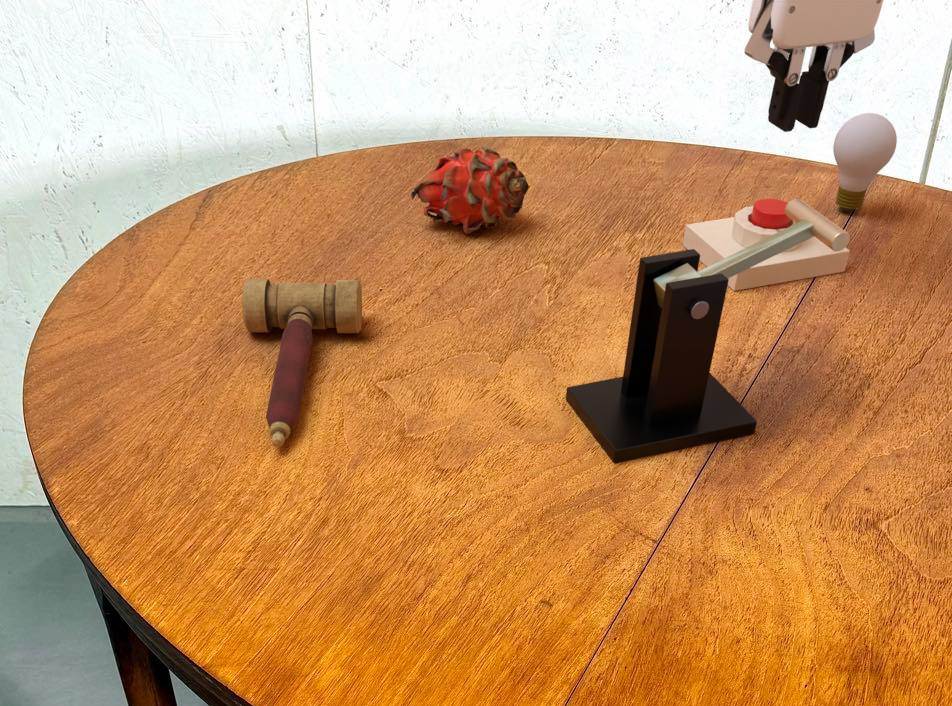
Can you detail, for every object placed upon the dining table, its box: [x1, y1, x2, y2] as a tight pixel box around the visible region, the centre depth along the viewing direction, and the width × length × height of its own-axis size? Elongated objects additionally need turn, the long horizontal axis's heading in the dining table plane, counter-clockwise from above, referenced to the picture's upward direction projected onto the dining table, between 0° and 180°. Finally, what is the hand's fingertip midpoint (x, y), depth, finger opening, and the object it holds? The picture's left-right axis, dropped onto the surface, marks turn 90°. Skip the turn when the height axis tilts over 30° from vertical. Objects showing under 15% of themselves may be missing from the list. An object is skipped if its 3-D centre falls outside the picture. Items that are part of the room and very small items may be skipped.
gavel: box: [241, 278, 363, 448], centre depth 87 cm, size 21×5×10 cm
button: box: [750, 198, 791, 230], centre depth 101 cm, size 4×4×2 cm
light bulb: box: [832, 112, 898, 213], centre depth 109 cm, size 6×6×10 cm
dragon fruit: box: [410, 146, 531, 235], centre depth 108 cm, size 8×8×12 cm
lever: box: [653, 198, 851, 309], centre depth 77 cm, size 13×6×2 cm, turn 107°
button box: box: [682, 205, 851, 292], centre depth 103 cm, size 12×10×4 cm
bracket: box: [565, 249, 758, 464], centre depth 80 cm, size 12×9×13 cm
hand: (792, 123), depth 95 cm, fingers closed
